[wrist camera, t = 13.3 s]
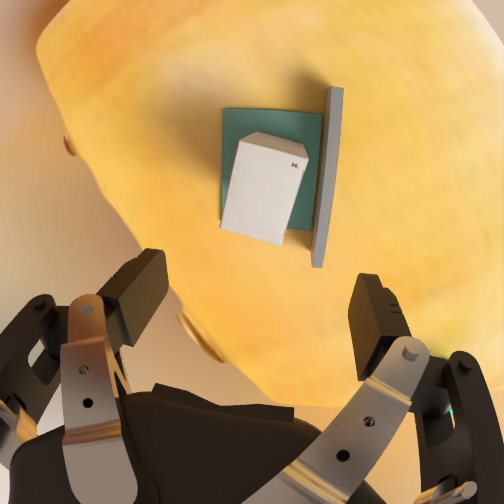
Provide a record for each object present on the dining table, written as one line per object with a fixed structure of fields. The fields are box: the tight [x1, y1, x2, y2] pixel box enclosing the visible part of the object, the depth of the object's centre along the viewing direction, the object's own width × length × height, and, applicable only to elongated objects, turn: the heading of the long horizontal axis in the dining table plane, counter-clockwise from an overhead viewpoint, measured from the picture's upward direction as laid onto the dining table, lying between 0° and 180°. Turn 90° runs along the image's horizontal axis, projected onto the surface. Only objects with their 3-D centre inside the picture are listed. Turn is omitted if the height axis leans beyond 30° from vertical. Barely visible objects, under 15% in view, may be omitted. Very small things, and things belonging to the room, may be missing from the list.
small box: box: [219, 132, 309, 246], centre depth 26 cm, size 8×6×10 cm
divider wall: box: [311, 86, 344, 268], centre depth 29 cm, size 20×1×4 cm, turn 178°
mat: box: [222, 109, 322, 231], centre depth 31 cm, size 14×11×1 cm
